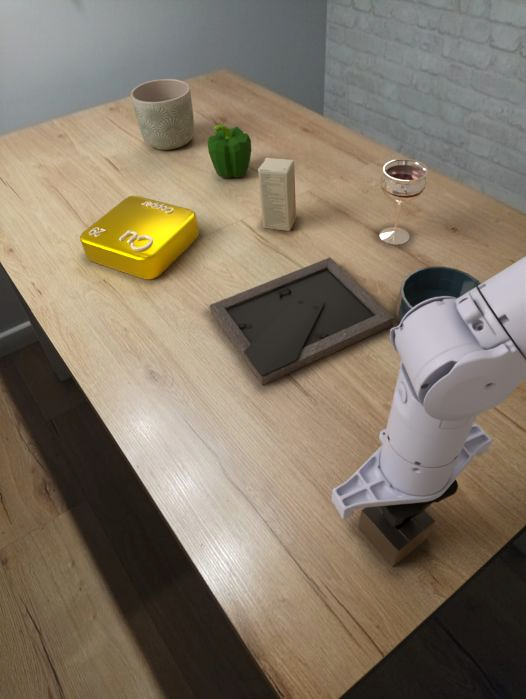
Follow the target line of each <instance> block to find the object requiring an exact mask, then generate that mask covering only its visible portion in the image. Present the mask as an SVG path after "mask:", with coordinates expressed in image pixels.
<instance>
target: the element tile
mask: <svg viewBox="0 0 526 699" xmlns="http://www.w3.org/2000/svg"><path fill="white" fill-rule="evenodd" d="M199 235H200V228H199V223H198V216H197V214H196V212H195V211H194V210H191V209H190V208H184V207H182V206H178V205H175V204H171V203H167V202H163V201H159V200H155V199H153V198H152V199H151V198H148V197H145V196H140V195H129V196H127V197H126V198H124V199H123V200H121V201H120V202H119V203H117V205H115V206H114V207H112V209H110V210H109V211H108V212H107V213H105V214H104V215H102V216H101V217H99V219H98V220H97V221H95V222H94V223H93V224H92V225H90V226H89V227H87V228H86V229H85V230H84V231H83V232H82V233H81V234H80V235H79V240H80V243H81V247H82V248H83V252H84V254H85V256H86V259H88V260H89V261H90V262H92V263H95V264H98V265H101V266H104V267H107V268H111V269H113V270H116V271H119V272H121V273H125V274H127V275H131V276H134V277H136V278H140V279H143V280H153V279H156V278H158V277H160V276H161V275H162V274H163V273H164V272H165V271H166V270H167V269H168V268H169V267H170V266H171V265H173V263H174V262H175V261H176V260H177V259H178V258H179V257H180V256H182V254H183V253H184V252H185V251H186V250H187V249H188V248H189V247H190V246H191V245H192V244H193V243H194V242H195V241H196V240H197V239H198V238H199Z"/></svg>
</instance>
